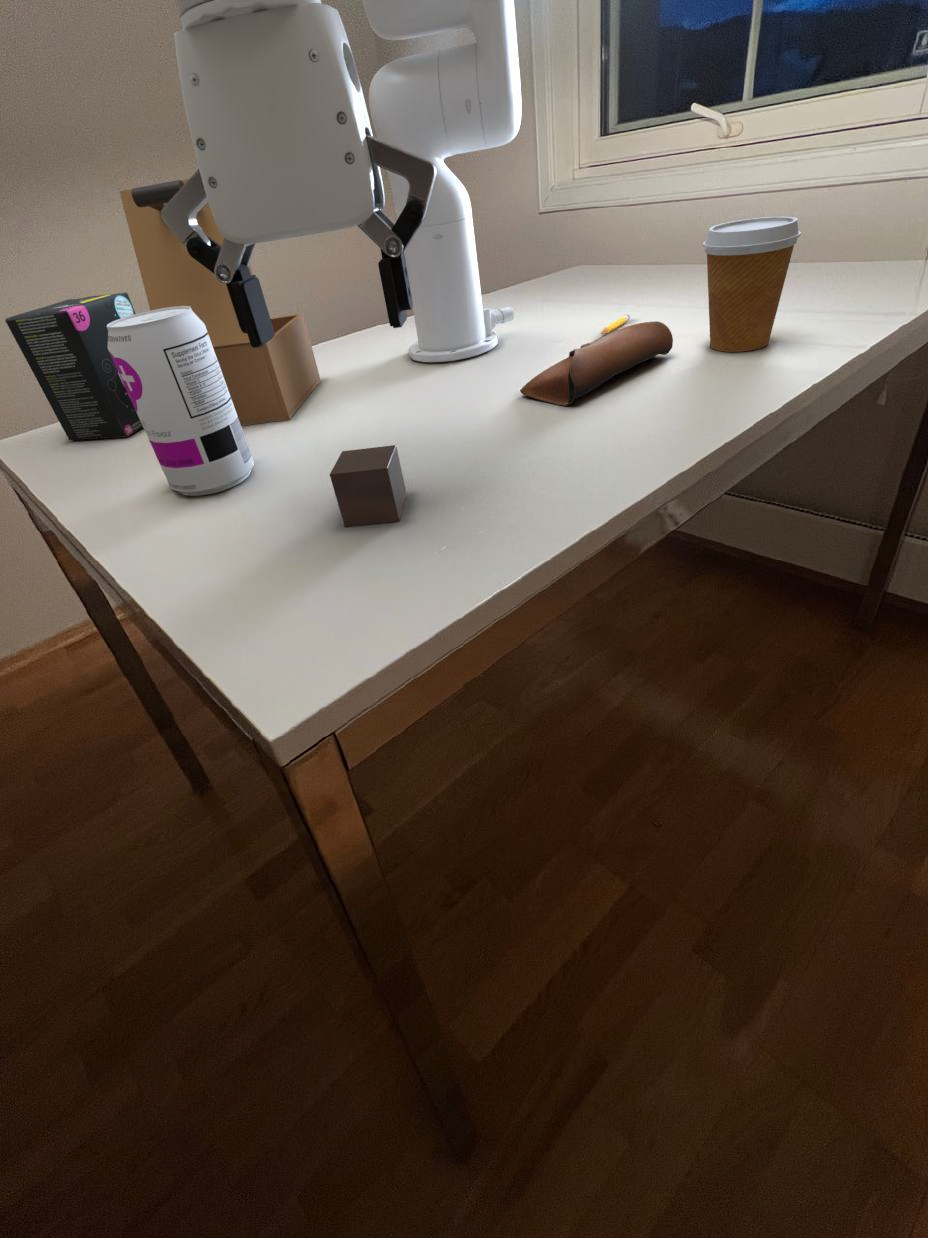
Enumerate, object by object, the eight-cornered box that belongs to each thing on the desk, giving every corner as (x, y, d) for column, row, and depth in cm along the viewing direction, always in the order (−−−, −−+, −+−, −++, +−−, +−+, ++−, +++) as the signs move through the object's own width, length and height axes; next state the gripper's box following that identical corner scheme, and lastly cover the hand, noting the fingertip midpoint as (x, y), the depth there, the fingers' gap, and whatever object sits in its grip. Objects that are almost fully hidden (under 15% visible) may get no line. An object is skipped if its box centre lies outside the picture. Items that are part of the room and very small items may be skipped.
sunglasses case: (611, 346, 78) (636, 296, 72) (653, 381, 76) (682, 332, 71) (514, 392, 69) (533, 339, 64) (559, 433, 67) (583, 382, 62)
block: (355, 501, 54) (342, 450, 51) (407, 495, 53) (396, 444, 50) (344, 526, 50) (329, 474, 47) (399, 521, 50) (387, 467, 47)
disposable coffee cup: (678, 346, 76) (684, 231, 69) (742, 328, 78) (754, 214, 71) (735, 361, 69) (749, 234, 61) (804, 341, 71) (825, 215, 64)
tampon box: (128, 438, 78) (67, 309, 69) (67, 442, 80) (0, 318, 71) (177, 407, 86) (128, 289, 78) (120, 412, 89) (67, 297, 80)
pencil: (630, 319, 89) (630, 314, 88) (602, 337, 84) (602, 331, 83) (624, 319, 89) (624, 314, 89) (597, 336, 84) (596, 331, 84)
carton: (237, 391, 88) (214, 326, 83) (321, 380, 87) (302, 313, 82) (193, 431, 76) (163, 357, 71) (290, 419, 75) (266, 343, 69)
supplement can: (175, 507, 58) (96, 334, 49) (171, 477, 64) (101, 320, 56) (262, 482, 60) (201, 311, 51) (250, 455, 66) (194, 300, 58)
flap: (121, 192, 66) (91, 177, 61) (231, 172, 64) (208, 156, 60) (164, 354, 71) (138, 353, 67) (266, 340, 70) (247, 337, 65)
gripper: (415, -31, 35) (459, 305, 45) (130, 31, 37) (231, 337, 47) (394, -69, 29) (450, 328, 39) (56, 7, 31) (190, 364, 41)
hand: (330, 333), depth 43 cm, fingers open, 9 cm apart
